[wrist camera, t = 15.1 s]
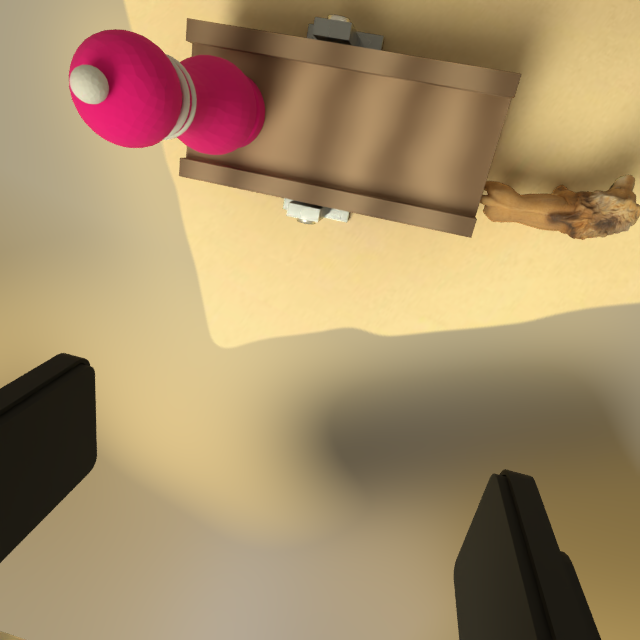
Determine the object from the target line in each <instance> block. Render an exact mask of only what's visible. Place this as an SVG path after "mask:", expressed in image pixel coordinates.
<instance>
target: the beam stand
mask: <svg viewBox="0 0 640 640" xmlns="http://www.w3.org/2000/svg"><path fill="white" fill-rule="evenodd" d="M307 38H309V39H315V40H321V41H327V42H333V43H339V44H345V45H351V46H357V47H363V48H369V49H375V50H381V51H382V47H383V42H384V36H381V35H375V34H369V33H363V32H357V31H356V30H355V28H354V26H353V24H352V23H350V20H349V19H348V18H346V17H343V16H339V15H328V19H325V18H319V17H315V20H314V24H309V27H308V34H307ZM283 209H286V210H287V215H286V216H290V217H295V218H297V221H298V222H301V223H305V224H315V222H319V221H320V220H321V219H323V218H329V219H333V220H338V221H343V222H348V219H349V214H350V212H347V211H343V210H338V209H333V208H328V207H324V206H319V205H314V204H309V203H305V202H300V201H295V200H290V199H286V198H284V205H283Z"/></svg>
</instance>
